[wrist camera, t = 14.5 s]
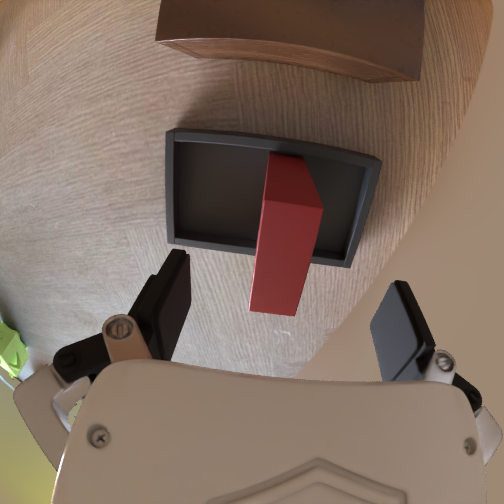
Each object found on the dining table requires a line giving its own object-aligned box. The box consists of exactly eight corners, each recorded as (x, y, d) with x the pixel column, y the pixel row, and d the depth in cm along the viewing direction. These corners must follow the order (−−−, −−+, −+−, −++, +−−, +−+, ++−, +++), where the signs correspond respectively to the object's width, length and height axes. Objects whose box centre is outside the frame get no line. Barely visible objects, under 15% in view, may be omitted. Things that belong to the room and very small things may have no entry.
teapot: (26, 356, 52) (11, 383, 43) (-5, 323, 47) (-23, 349, 38) (38, 348, 47) (19, 380, 38) (1, 309, 42) (-21, 339, 33)
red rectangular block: (269, 151, 21) (263, 199, 12) (302, 156, 21) (324, 208, 12) (259, 226, 25) (248, 311, 16) (289, 230, 25) (294, 317, 16)
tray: (374, 156, 21) (382, 161, 19) (345, 256, 27) (350, 268, 25) (174, 128, 21) (165, 131, 20) (174, 233, 27) (167, 243, 25)
